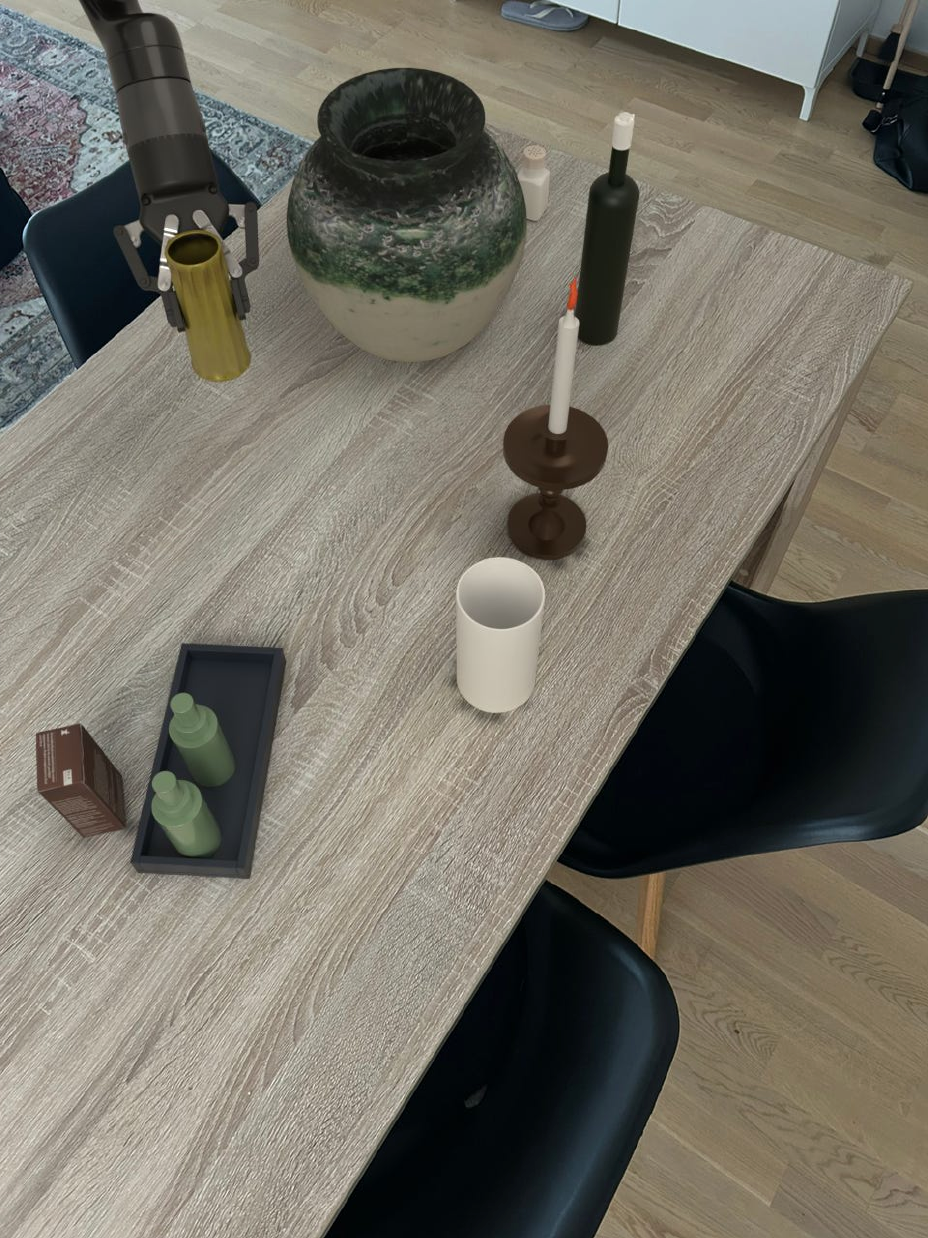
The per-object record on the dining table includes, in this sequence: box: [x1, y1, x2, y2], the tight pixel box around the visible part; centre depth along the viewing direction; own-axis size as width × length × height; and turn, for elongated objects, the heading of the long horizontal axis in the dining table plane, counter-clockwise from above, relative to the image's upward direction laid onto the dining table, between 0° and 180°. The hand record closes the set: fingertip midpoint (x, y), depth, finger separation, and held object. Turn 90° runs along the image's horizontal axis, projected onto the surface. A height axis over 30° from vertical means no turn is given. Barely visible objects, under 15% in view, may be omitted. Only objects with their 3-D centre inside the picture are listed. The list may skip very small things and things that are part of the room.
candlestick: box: [502, 276, 609, 561], centre depth 105 cm, size 11×11×35 cm
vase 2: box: [286, 67, 528, 363], centre depth 124 cm, size 28×28×30 cm
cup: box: [455, 556, 546, 714], centre depth 102 cm, size 8×8×16 cm
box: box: [35, 722, 126, 839], centre depth 96 cm, size 6×4×12 cm
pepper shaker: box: [517, 144, 551, 222], centre depth 146 cm, size 4×4×10 cm
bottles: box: [151, 693, 235, 859], centre depth 95 cm, size 4×12×14 cm, turn 177°
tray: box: [129, 642, 287, 880], centre depth 103 cm, size 11×24×3 cm, turn 177°
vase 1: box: [165, 230, 252, 383], centre depth 102 cm, size 6×6×14 cm
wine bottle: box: [574, 110, 640, 346], centre depth 124 cm, size 6×6×30 cm
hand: (212, 324), depth 102 cm, fingers closed on vase 1, 5 cm apart
